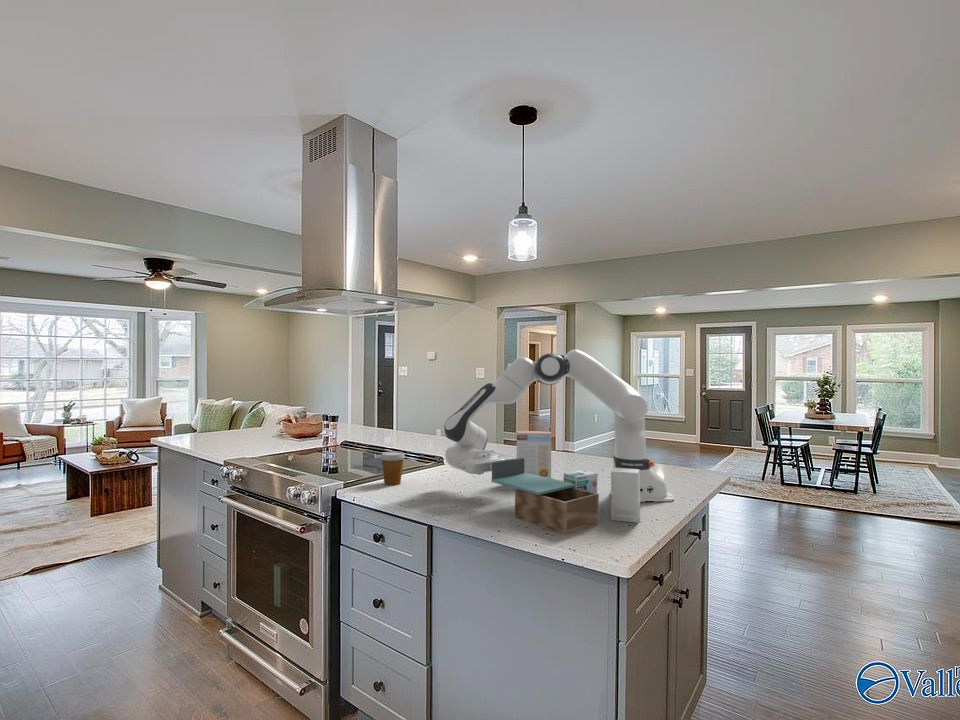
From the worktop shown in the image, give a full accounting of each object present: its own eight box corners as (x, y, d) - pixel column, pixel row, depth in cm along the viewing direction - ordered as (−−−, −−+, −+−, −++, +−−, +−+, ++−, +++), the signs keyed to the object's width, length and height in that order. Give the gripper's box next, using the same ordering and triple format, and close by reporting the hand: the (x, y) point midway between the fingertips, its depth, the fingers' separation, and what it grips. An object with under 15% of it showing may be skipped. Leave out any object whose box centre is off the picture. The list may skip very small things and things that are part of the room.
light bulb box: (576, 508, 170) (577, 476, 170) (562, 504, 175) (562, 472, 175) (597, 504, 176) (598, 473, 176) (583, 499, 181) (583, 469, 181)
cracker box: (550, 481, 208) (551, 431, 208) (551, 485, 202) (551, 433, 202) (516, 480, 209) (517, 430, 209) (515, 484, 203) (516, 431, 203)
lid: (488, 480, 167) (488, 462, 167) (524, 474, 178) (524, 457, 178) (539, 495, 150) (539, 474, 150) (574, 486, 162) (575, 467, 162)
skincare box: (640, 518, 160) (641, 469, 160) (637, 524, 154) (638, 473, 154) (613, 514, 164) (614, 466, 164) (609, 520, 158) (610, 470, 158)
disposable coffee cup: (384, 480, 206) (385, 450, 206) (407, 481, 204) (407, 451, 204) (376, 485, 196) (377, 454, 196) (400, 487, 195) (401, 455, 195)
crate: (514, 517, 158) (515, 488, 159) (548, 508, 169) (548, 481, 169) (564, 534, 143) (565, 502, 144) (598, 523, 154) (598, 493, 154)
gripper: (455, 456, 178) (481, 462, 167) (497, 450, 191) (524, 455, 181) (455, 474, 178) (481, 481, 167) (497, 466, 191) (524, 473, 181)
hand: (504, 467), depth 174 cm, fingers closed
